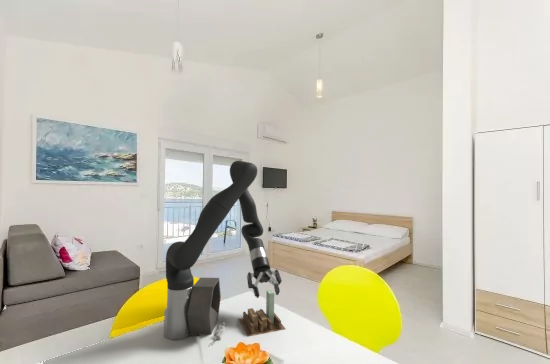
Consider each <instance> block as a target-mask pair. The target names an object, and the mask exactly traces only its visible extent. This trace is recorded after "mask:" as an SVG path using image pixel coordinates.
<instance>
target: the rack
mask: <svg viewBox="0 0 550 364" xmlns="http://www.w3.org/2000/svg"><path fill="white" fill-rule="evenodd" d="M259 310H261V311H262V313H263V314H264V315H265V317H266V318H267V328H266V329H263V323H262V322H261V320H260V319H259V317H258V329H257V330H254V325H253V323H252V322H251V320H250V319H249V317H248V313H246V311H243V312H242V317H241V318H238V321H239V324H241V327H242V329H243V331H244V332H245V334H246V336H247V337H253V336H257V335H263V334H268V333H273V332H279V331H283V330H287V329H286V327H285V326H284V325H283V324H282V320H281V319H280V318H279V316H277V314H276V313H275V312H274V324H272V321H271V320H270V319H269V317H268V316H267V315H266V311H264V309H262V308H259Z"/></svg>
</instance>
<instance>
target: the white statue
mask: <svg viewBox="0 0 550 364" xmlns="http://www.w3.org/2000/svg"><path fill="white" fill-rule="evenodd" d="M225 325H226V323H225V321H222V323H220V324H218V326H217V328H216V330H215V331H214V332H212V335H213V336H211V337H210V339H209V340H213V341H212V342H211V343H209V345H208V347H209V348H210V347H212V346H213V344H214V345H215V342H216V341H221V340H222V336H221V335H222V334H223V333H224V332H223V331H224V330H225V329H226V327H225Z"/></svg>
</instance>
